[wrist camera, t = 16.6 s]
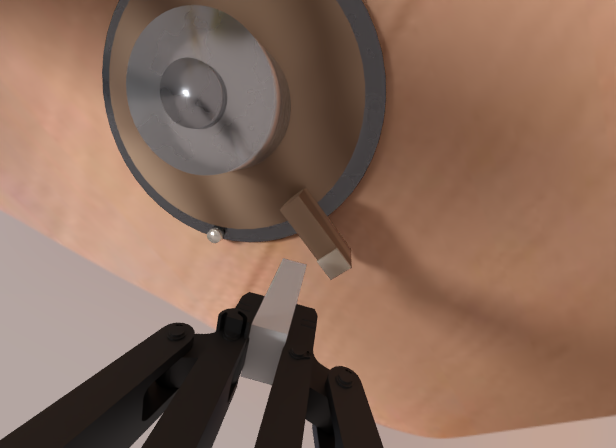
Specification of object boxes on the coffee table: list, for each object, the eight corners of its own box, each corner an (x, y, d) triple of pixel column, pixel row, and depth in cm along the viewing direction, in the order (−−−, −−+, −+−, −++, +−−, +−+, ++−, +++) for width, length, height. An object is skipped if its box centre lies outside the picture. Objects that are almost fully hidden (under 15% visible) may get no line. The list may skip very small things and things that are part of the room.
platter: (256, 304, 27) (238, 337, 22) (70, 80, 23) (6, 66, 19) (449, 183, 21) (475, 194, 17) (251, -130, 18) (220, -215, 14)
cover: (261, 189, 22) (233, 203, 17) (157, 136, 22) (100, 134, 17) (312, 71, 20) (297, 45, 15) (194, 11, 20) (138, -35, 15)
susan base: (105, 206, 27) (92, 209, 25) (111, -101, 20) (95, -118, 19) (339, 269, 26) (339, 277, 24) (429, -34, 19) (435, -47, 17)
